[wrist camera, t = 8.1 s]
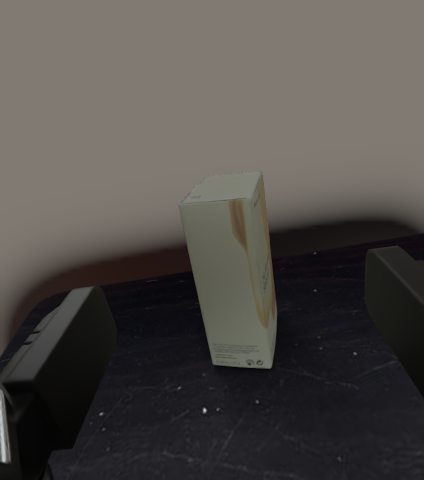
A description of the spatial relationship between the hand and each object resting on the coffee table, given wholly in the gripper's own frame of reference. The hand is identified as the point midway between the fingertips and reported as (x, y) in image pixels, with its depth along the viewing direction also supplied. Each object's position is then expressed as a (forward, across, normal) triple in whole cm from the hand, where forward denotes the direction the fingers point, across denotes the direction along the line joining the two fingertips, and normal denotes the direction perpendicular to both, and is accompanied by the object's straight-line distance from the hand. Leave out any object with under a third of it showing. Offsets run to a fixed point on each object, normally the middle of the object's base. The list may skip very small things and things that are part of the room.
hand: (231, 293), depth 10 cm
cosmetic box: (+11, 0, +12) cm, 16 cm away
